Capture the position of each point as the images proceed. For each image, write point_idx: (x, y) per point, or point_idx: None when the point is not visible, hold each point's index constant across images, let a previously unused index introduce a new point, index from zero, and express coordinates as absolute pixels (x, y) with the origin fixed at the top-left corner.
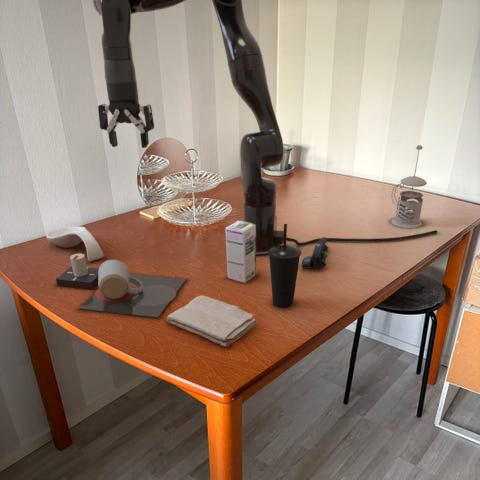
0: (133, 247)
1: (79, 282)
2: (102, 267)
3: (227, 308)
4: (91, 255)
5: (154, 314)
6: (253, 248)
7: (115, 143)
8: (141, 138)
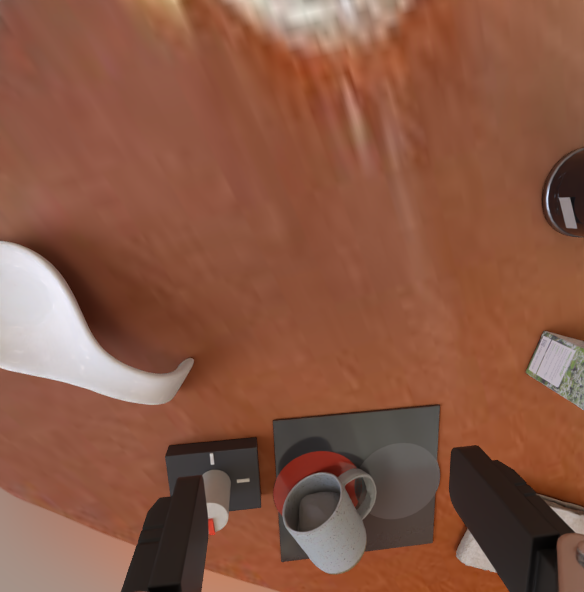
0: (236, 270)
1: (233, 509)
2: (306, 547)
3: None
4: (176, 392)
5: (423, 537)
6: None
7: (202, 521)
8: (500, 565)
